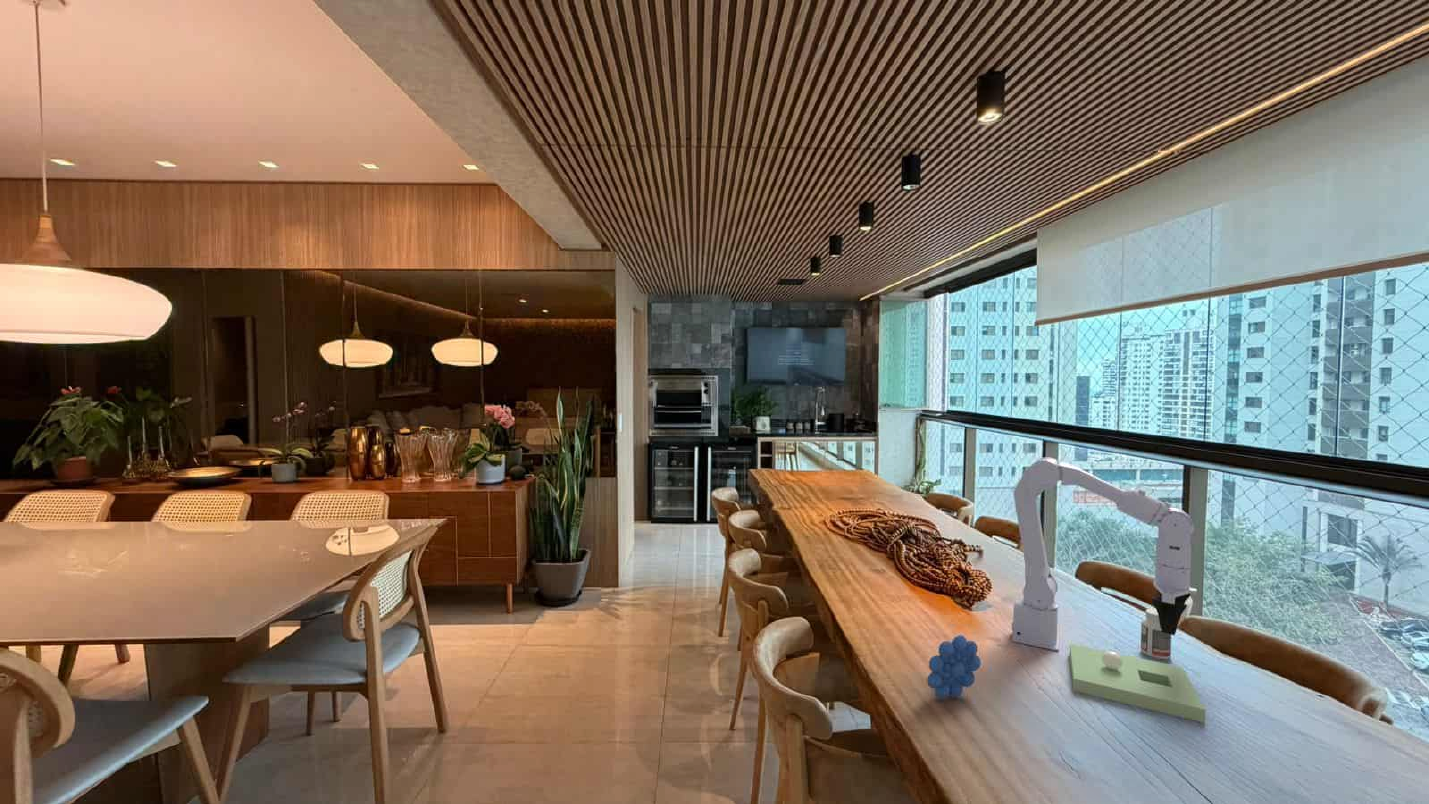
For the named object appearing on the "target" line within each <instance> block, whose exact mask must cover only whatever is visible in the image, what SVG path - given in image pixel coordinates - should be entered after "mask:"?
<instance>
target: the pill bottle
mask: <svg viewBox="0 0 1429 804" xmlns="http://www.w3.org/2000/svg"><path fill="white" fill-rule="evenodd" d="M1140 628H1141V629H1140V631H1141V632H1140V651H1141V652H1142V654H1144V655H1146V656H1147V657H1151V658H1155V659H1158V660H1169V659H1170V658H1171V653H1172V650H1171V649H1172V635H1171V634H1167V633H1163V632H1162V630H1161V627H1160V622H1159V616H1158V613H1157V610H1156V609H1153V608H1152V609H1151V608H1150V609H1149V608H1148V609H1146V610H1145V618H1143V619H1142V620H1141V624H1140Z"/></svg>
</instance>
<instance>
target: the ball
mask: <svg viewBox="0 0 1429 804" xmlns="http://www.w3.org/2000/svg"><path fill="white" fill-rule="evenodd" d="M1118 654H1119V653H1117V652H1115V651H1110V650H1107V652H1105V653H1104V654H1103V655H1102V661H1103V663H1104V665H1105V666H1106V667H1107V668H1109V669H1112V670H1118V669H1120V668H1121V667H1122V664H1123V662H1122V659H1121V657H1120V656H1119V655H1118Z"/></svg>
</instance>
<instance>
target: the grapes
mask: <svg viewBox="0 0 1429 804" xmlns="http://www.w3.org/2000/svg"><path fill="white" fill-rule="evenodd" d="M977 653H978V645H977V642H975V641H973V640H967V638H966V637H965V636H964V635H957V636H955V637H954V638H953V639H952V641H948V640H945V641H943V642H941V643H940V644H939V647H938V654H937V655H934V656H932V657H931V658H930V659H929V662H928V667H929V670H930V671H931V672H930V673H929V674H928V676H927V680H926V683H927V685H928V687H930V689H934V694H935V696H936V697H937V698H938V699H946V698H948V696H949V697H950V696H951V697H954V698H953V699H957V698H959V697H960V696H961V695H962V694H963V690H964V688H969V687H971V686H973V685H974V684H975V680H976V678H975V677H976V676H975V674H974V672H976V671H978V669H979V668H981V667H980V666H981V659H980V657H979V656H978V655H977ZM951 697H950V698H951Z"/></svg>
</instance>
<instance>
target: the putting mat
mask: <svg viewBox="0 0 1429 804" xmlns="http://www.w3.org/2000/svg"><path fill="white" fill-rule="evenodd" d="M1105 652H1108V650H1102V649H1097V648H1092V647H1087V646H1082V645H1079V644H1078V645H1077V644H1074V643H1069V660H1070V670H1071V678H1072V679H1071V680H1072V688H1073V691H1074V692H1076V693H1081V694H1086V695H1089V696H1094V697H1098V698H1101V699H1107V700H1110V701H1112V702H1113V701H1114V702H1117V703H1118V702H1119V703H1122V704H1126V705H1130V706H1134V707H1137V708H1138V707H1139V708H1142V709H1146V710H1150V711H1154V712H1159V713H1162V714H1165V715H1166V714H1167V715H1170V716H1174V717H1178V718H1183V719H1187V720H1191V721H1194V722H1200V723H1203V724H1205V723H1206V708H1205V706H1204V705H1203V703H1202V700H1201V698H1200V697H1199V695H1198V693H1197V691H1196V689H1195V687H1194V685H1193V684H1192V681H1191V680H1190V677H1189V676H1188V673H1187V672H1186V670H1185V668H1184V667H1183V666H1179V665H1174V664H1170V663H1165V662H1164V663H1163V662H1159V661H1154V660H1149V659H1145V658H1141V657H1136V656H1132V655H1125V654H1122V653H1117V654H1118V655H1119V656H1120V657H1121V659H1122V662H1123V664H1122V667H1121V668H1120V669H1118V670H1112V669H1109V668H1107V667H1106V666H1105V665H1104V663H1103V661H1102V655H1103V654H1104V653H1105Z"/></svg>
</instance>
